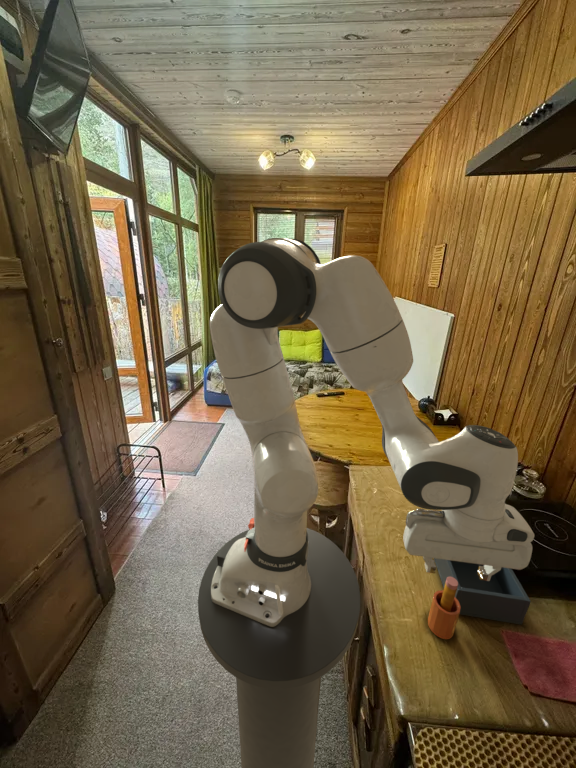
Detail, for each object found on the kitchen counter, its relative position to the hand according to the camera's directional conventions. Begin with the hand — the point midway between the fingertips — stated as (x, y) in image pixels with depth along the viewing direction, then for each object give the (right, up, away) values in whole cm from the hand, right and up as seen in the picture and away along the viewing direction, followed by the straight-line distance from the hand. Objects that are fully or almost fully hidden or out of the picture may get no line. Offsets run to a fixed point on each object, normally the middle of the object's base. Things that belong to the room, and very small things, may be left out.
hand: (455, 573), depth 58 cm
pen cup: (0, -14, +5) cm, 15 cm away
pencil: (0, -13, +5) cm, 14 cm away
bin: (+11, -11, +13) cm, 20 cm away
